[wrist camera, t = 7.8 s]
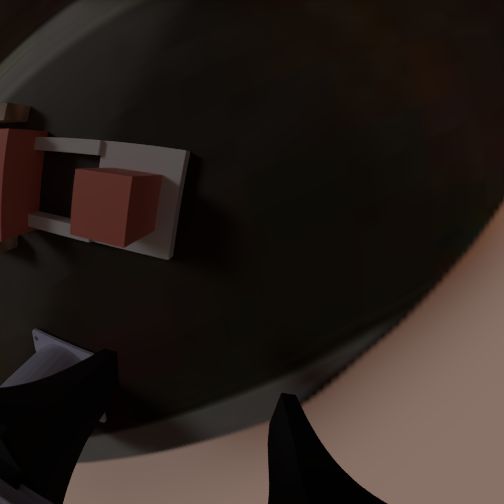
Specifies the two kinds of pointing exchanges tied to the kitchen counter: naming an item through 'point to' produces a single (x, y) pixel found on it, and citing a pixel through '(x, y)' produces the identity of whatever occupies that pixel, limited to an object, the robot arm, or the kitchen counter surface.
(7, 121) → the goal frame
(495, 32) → the kitchen counter surface
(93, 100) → the kitchen counter surface
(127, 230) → the white rails red ends
